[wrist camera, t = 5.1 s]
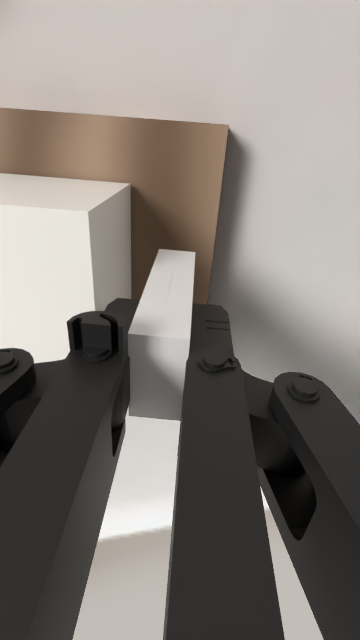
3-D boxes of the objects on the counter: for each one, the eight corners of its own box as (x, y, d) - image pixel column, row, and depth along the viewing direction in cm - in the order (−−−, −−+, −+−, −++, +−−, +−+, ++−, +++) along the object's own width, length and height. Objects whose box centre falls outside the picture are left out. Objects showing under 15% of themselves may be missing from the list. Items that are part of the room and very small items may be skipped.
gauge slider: (130, 183, 15) (87, 211, 9) (132, 359, 19) (104, 442, 14) (-68, 167, 15) (-217, 186, 10) (-19, 344, 20) (-100, 421, 14)
